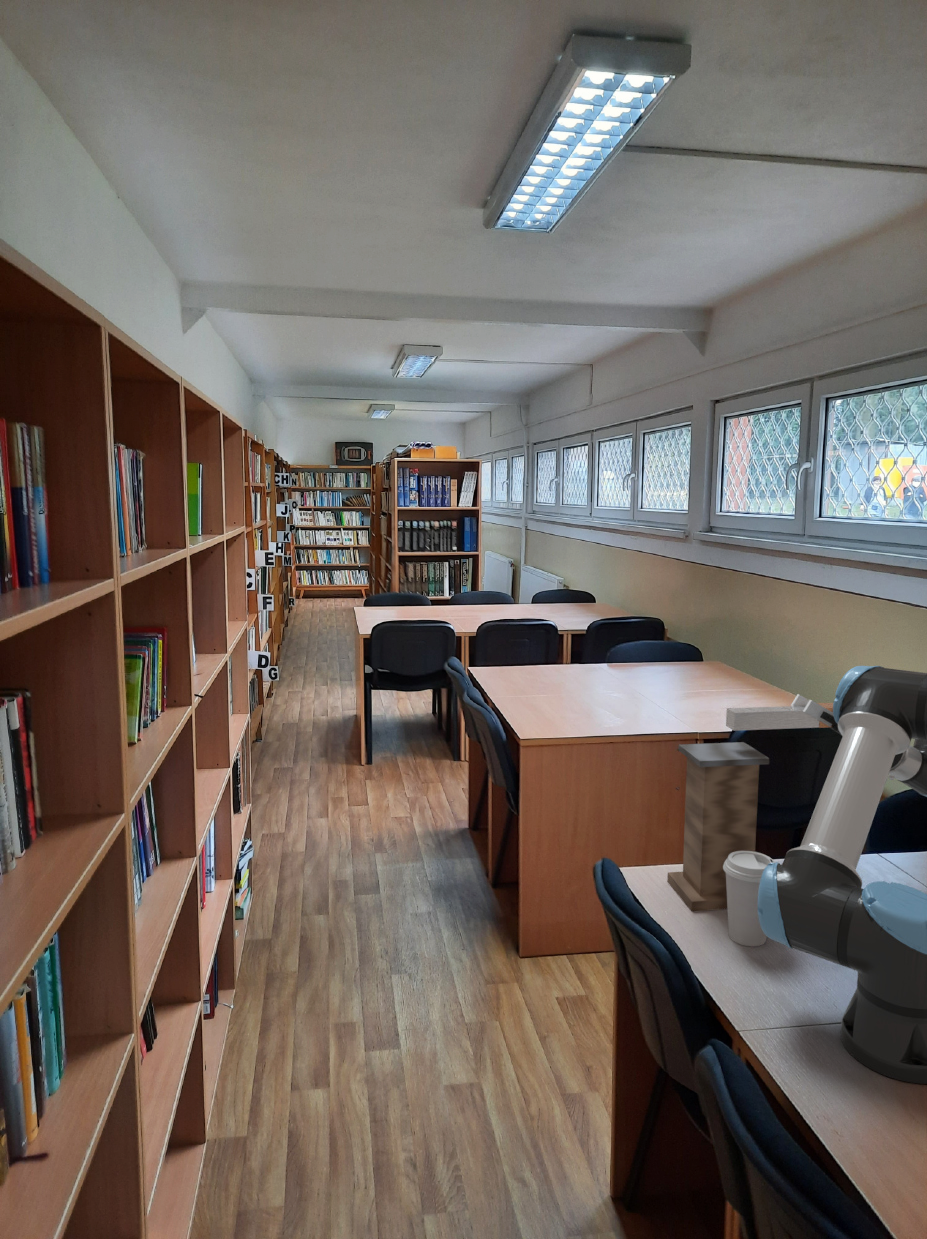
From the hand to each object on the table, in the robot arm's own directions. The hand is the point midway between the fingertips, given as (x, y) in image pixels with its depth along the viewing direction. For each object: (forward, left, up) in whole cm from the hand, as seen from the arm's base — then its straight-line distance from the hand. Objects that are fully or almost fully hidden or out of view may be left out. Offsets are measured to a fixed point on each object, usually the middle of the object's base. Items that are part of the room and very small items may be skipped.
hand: (801, 702), depth 167 cm
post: (-15, +8, -39) cm, 42 cm away
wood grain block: (-3, +2, -5) cm, 6 cm away
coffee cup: (-25, -6, -39) cm, 47 cm away
